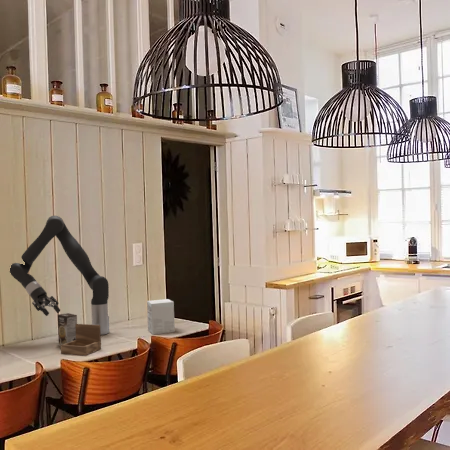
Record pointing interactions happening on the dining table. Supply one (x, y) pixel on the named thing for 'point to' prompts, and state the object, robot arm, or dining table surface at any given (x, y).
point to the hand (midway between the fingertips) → (53, 313)
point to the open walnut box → (84, 340)
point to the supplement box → (160, 316)
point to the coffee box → (66, 328)
